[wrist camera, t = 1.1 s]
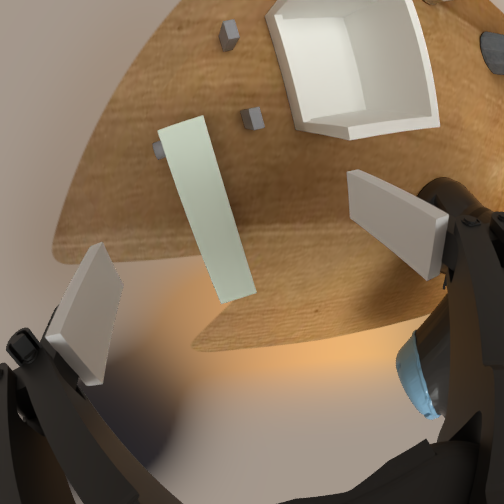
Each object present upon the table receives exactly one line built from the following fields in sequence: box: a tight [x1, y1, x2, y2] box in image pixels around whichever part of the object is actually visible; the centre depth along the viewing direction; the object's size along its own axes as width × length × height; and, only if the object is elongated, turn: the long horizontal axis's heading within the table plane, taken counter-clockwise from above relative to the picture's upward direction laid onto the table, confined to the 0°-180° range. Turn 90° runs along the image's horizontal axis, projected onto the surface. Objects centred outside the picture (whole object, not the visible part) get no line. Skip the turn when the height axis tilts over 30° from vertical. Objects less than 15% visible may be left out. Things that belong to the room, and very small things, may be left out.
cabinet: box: [219, 0, 440, 140], centre depth 20 cm, size 14×15×12 cm
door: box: [153, 115, 257, 304], centre depth 24 cm, size 14×4×12 cm, turn 14°
